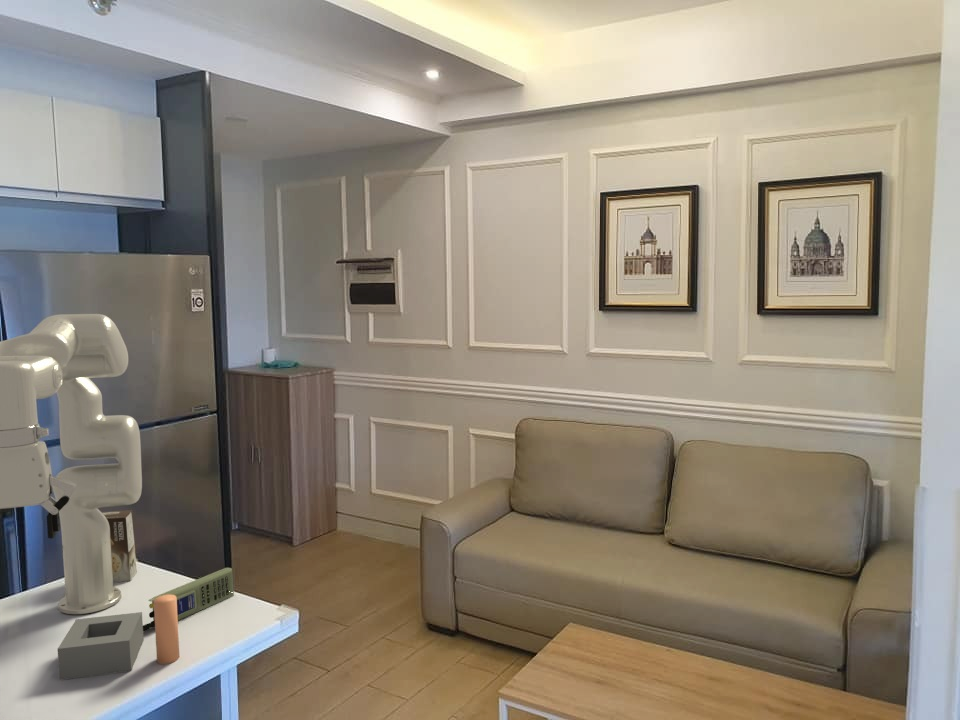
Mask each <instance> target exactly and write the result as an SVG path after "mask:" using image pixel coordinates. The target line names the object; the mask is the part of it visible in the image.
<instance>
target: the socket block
mask: <svg viewBox="0 0 960 720" xmlns="http://www.w3.org/2000/svg"><path fill="white" fill-rule="evenodd" d="M143 622H144V621H143V612H142V611H140V612H129V613H122V614H112V615H105V616H104V615H103V616H93V617H85V618H78V619H77V618H76V619H75V620H74V621H73V623H72V626H70V628H69V630H68V631H67V633H66V634H65V636H64V638H63V639H62V641H61V642H60V644H59V645H58V647H57V661H58V663H57V664H58V675H59V681H62V680H70V679H72V680H73V679H79V678H86V677H94V676H100V675H101V676H103V675H109V674H118V673H126V672H132V671H133V667H134V665H135V662H136V660H137V658H138V655H139V653H140V650H141V647H142V645H143V643H144V632H143V625H144V624H143Z"/></svg>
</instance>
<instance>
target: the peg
mask: <svg viewBox="0 0 960 720" xmlns="http://www.w3.org/2000/svg"><path fill="white" fill-rule="evenodd" d="M154 615H155V627H154V630H155V633H154V634H155V647H156V648H155V649H156V650H155V651H156V662H157V663H158V664H159V665H160V664H161V665H167V664H168V665H169V664H172V663H174V662H176V661H178V660H179V658H180V644H179V643H180V641H179V639H180V638H179V620H178V617H177V597H176V596H175V595H162V596H159V597H157V598H155V599H154Z"/></svg>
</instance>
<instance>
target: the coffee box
mask: <svg viewBox="0 0 960 720" xmlns="http://www.w3.org/2000/svg"><path fill="white" fill-rule="evenodd" d="M100 512H101V513H102V514H103V515H104V516H105V517H106V519H107V520H108V522H109V526H110V540H111V557H112V573H113V583H116V582H118V583H119V582H130V581H132V579H133V578H134V577H135V575H136V574H137V572H138V569H137V560H136V559H137V558H136V545H135V531H134V530H135V529H134V515H133V510H132V509H130V510H129V509H127V510H113V511H111V510H110V511H100Z"/></svg>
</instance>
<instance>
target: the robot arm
mask: <svg viewBox="0 0 960 720" xmlns="http://www.w3.org/2000/svg"><path fill="white" fill-rule="evenodd" d="M128 367H129V352H128V349H127V345H126V344H125V341H124V339H123V337H122V334H121V332H120V330H119V329H118V327H117V325H116V323H115V322H114V321H113V320H112V319H111V318H110V317H108V316H107V315H105V314H102V313H101V314H100V313H80V314H79V313H76V314H75V313H74V314H73V313H72V314H71V313H69V314H68V313H67V314H66V313H65V314H64V313H63V314H62V313H60V314H54V315H50V316H48V317H45V318H44V319H42V320H41V321H40V322H39V323H38V324H37V325H36V326H35V327H34V328H33V329H32V330H31V331H30V332H29V333H25V334H22V335H18V336H15V337H12V338H8V339H6V340H5V339H4V340H1V341H0V510H3V509H4V510H5V509H14V508H23V507H32V506H39V505H40V506H41V507H43V508H44V509H45V510H46V512H48V513H47V515H46V528H47V529H46V530H47V538H48V539H50V540H52V539H54V538H55V536H56V535H57V532H61V544H62V560H63V573H64V588H65V591H64V592H65V595H64V597H62V598H61V599H60V600H59V601H58V604H57V605H58V606H57V607H58V610H59V611H60V612H61V613H64V614H67V615H86V614H90V613H97V612H99V611H103V610H105V609H108V608H110V607H112V606H114V605H115V604H117V603H118V602H119V601H120V600H121V599H122V590H121V589H119V588H117V587H115V586H114V582H113V573H112V557H111V540H110V526H109V522H108V520H107V519H106V517H105V516H104V515H103V514H102V513H101V512H102V511H101V510H100V509H101V508H109V507H111V508H112V507H121V506H129V505H132V504H133V505H134V504H135V503H137V502H138V501H139V500H140V498H141V495H142V490H143V475H142V471H143V470H142V447H141V446H142V445H141V431H140V427H139V424H138V422H137V420H136V419H135V418H134V417H133V416H130V415H124V414H114V415H105V414H104V411H103V395H102V392H101V391H100V389H99V387H98V386H97V385H96V383H94V381H93V380H91V379H93V378H95V379H97V378H115V377H120V376H122V375H123V374H124V373H125V372H126V370H128V369H127V368H128ZM55 394H56V396H57V399H58V414H59V416H58V417H59V419H58V420H59V421H58V422H59V442H60V450H61V453H62V455H63V456H64V457H65V458H67V459H69V460H96V459H98V460H99V459H110V458H111V459H116V460H117V462H118V463H107V464H103V463H102V464H99V463H98V464H87V465H74V466H71V467H66V468H64V469H63V470H61V471H59V472H58V473H57V474H56V475H55V476H53V472H52V465H51V461H50V460H51V459H50V455H49V451H48V447H47V444H46V442H45V441H43V440H40V439H41V438H44V437H48V436H49V434H50V430H49V428H48V427H46V428H45V427H41V426H40V423H39V418H38V407H37V406H38V405H37V404H38V403H37V400H43V399H47V398H51V397H53V396H54V395H55ZM53 494H54V497H53ZM60 530H61V531H60Z"/></svg>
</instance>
